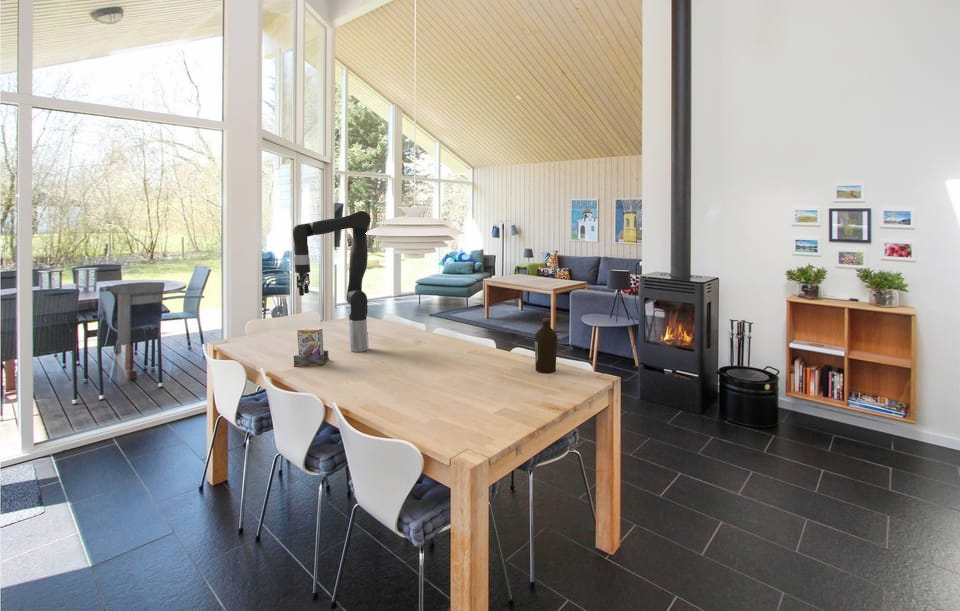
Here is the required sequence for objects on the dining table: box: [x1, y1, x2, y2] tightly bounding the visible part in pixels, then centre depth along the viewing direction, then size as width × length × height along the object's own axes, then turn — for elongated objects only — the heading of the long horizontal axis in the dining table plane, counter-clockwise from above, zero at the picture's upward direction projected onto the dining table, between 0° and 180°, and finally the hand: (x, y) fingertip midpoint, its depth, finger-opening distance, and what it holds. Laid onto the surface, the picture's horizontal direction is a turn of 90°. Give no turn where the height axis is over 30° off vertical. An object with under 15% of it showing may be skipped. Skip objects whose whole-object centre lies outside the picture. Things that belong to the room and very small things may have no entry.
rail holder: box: [293, 349, 330, 368], centre depth 249 cm, size 14×12×5 cm
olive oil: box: [534, 317, 559, 374], centre depth 233 cm, size 11×11×25 cm
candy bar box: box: [296, 327, 324, 355], centre depth 248 cm, size 11×5×16 cm, turn 86°
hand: (304, 294), depth 262 cm, fingers open, 8 cm apart
